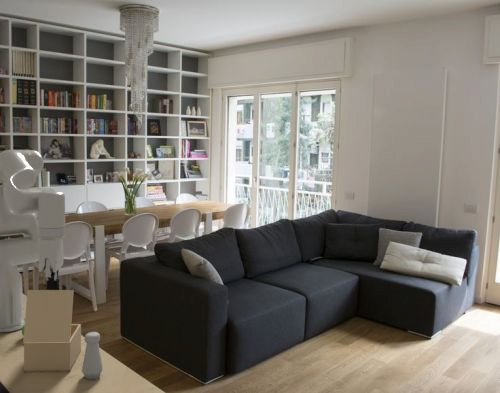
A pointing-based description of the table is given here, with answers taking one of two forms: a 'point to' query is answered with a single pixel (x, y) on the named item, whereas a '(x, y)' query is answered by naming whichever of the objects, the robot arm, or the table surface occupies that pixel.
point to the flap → (48, 316)
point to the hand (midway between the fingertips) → (53, 292)
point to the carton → (53, 354)
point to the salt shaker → (92, 356)
